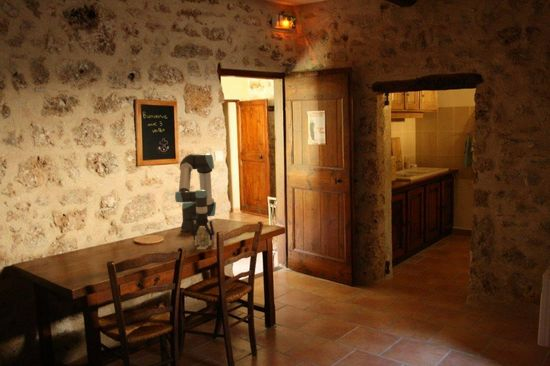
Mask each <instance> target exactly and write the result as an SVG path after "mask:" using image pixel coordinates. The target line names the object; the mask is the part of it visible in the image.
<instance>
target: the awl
mask: <svg viewBox="0 0 550 366" xmlns="http://www.w3.org/2000/svg"><path fill="white" fill-rule="evenodd" d="M200 241H201V247H205V233H200Z"/></svg>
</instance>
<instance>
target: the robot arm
mask: <svg viewBox="0 0 550 366" xmlns="http://www.w3.org/2000/svg"><path fill="white" fill-rule="evenodd" d="M214 169H215V164H214V159H213V155H212V153H190V154H188V155H186V156H185V157H183V159H181V161H180V164H179V171H180V172H179V173H180V174H179V187H178V191H176V192H175V194H174V195H175V196H174V197H175V202H176V203H182V205H181V209H182V210H181V212H182V214H181V215H182V222H181V225H180V232H184V233H190V235H191V236H193V241H194V244H195V246H197V245H198V234H197V231H198V229H199V227H205V228H206V229H207V231H208V233H209V246H212V245H211V240H212V235H215V230H214V229H213V228H214V225H213V220H210V219H208V218H209V217H215V215H216V206H217V201H215V200H214V198H213V196H212V195H213V194H212V176H211V173H212V172H213V170H214ZM193 170H196V172H197V173H198V175H199V189H197V190H191V176H192V171H193ZM208 224H209V226H208ZM209 227H210V228H211V231H210V229H209ZM211 232H212V233H211Z"/></svg>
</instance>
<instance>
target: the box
mask: <svg viewBox="0 0 550 366" xmlns="http://www.w3.org/2000/svg"><path fill="white" fill-rule="evenodd" d="M208 227H209V229H210V231H211V228H210V226H208ZM213 229H214V227H213ZM200 233H205V245H209V233H208V231H207V229H206V228H205V226H200V227H199V229H198V231H197V233H196V235H197V245H198V246H200V245H201V241H200ZM211 233H212V232H211ZM214 235H215V234H214ZM214 235H212V240H211V245H209V246H213V245H215V236H214Z"/></svg>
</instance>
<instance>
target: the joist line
mask: <svg viewBox="0 0 550 366" xmlns="http://www.w3.org/2000/svg"><path fill="white" fill-rule="evenodd" d="M209 246H210V245H205V247H201V245H198V246H197V248H196V250H207V249H208V247H209ZM206 248H207V249H206Z"/></svg>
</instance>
